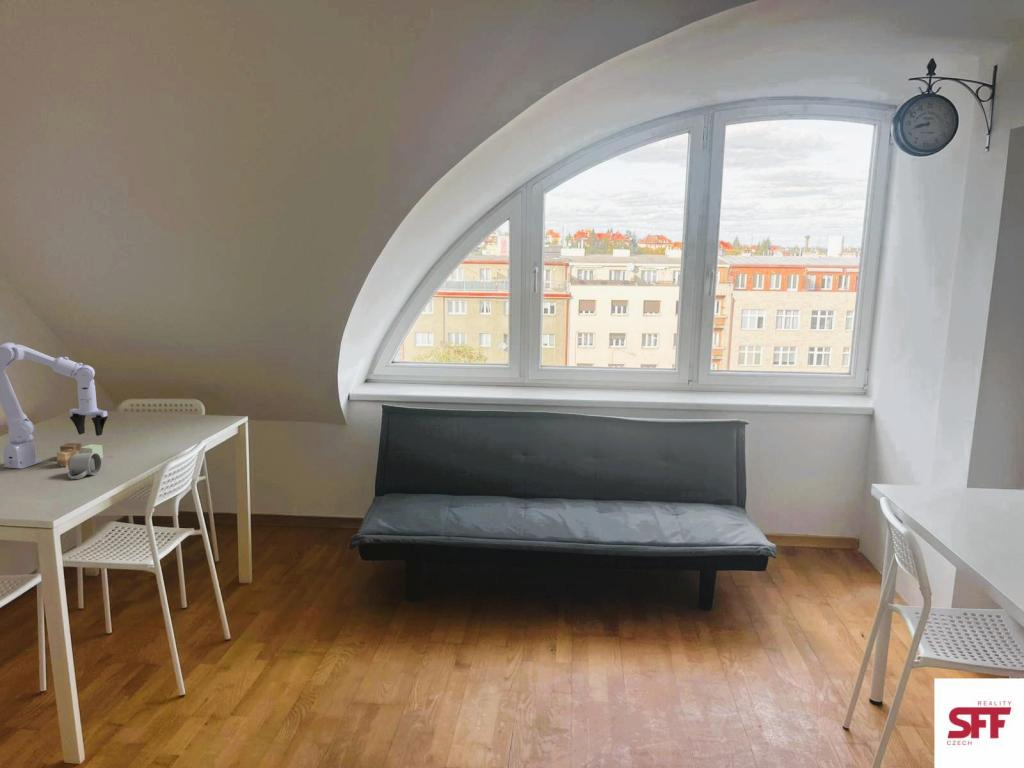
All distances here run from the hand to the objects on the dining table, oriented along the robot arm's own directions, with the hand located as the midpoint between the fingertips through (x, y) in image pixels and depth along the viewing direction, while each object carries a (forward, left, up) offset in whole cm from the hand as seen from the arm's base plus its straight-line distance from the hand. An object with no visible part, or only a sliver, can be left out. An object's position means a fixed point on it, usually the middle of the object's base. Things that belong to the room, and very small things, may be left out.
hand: (90, 434), depth 276 cm
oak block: (-8, +3, -10) cm, 13 cm away
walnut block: (0, +9, -10) cm, 13 cm away
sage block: (0, 0, -10) cm, 10 cm away
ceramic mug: (-18, -12, -10) cm, 23 cm away
